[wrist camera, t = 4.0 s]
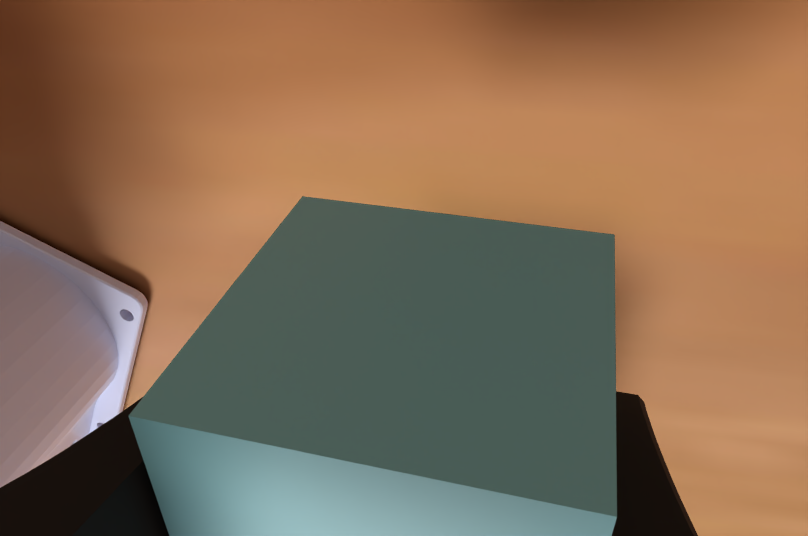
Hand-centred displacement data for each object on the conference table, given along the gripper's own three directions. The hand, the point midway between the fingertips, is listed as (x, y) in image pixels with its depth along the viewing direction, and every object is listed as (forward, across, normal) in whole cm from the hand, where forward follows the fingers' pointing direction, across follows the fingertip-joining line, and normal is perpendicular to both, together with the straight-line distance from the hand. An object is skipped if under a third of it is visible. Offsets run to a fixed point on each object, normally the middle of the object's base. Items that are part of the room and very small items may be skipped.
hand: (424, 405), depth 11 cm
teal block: (+2, 0, 0) cm, 2 cm away
